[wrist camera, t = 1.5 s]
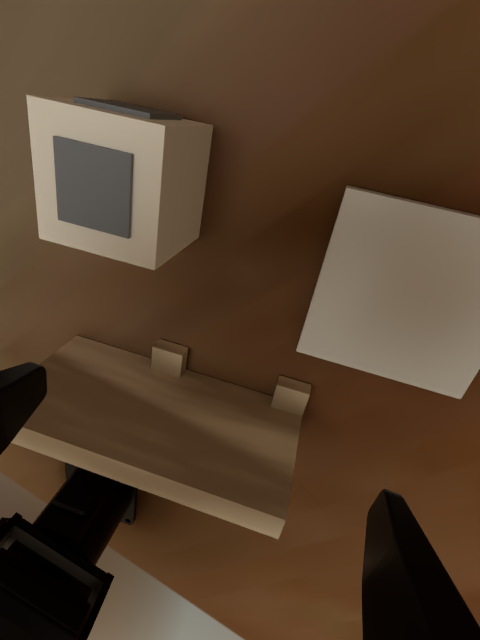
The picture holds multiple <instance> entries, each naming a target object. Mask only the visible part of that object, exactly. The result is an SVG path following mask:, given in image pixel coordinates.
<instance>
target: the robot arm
mask: <svg viewBox="0 0 480 640" xmlns="http://www.w3.org/2000/svg"><path fill="white" fill-rule="evenodd" d="M46 394H47V374H46V369H45V367H43V366H41V365H38V364H35V363H32V362H29V363H25V364H21V365H18V366H15V367H11V368H8V369H5V370H2V371H0V455H1V453H2V452H3V451H4V450H5V449H6V448H7V447H8V445H9V444H10V443H11V442H12V441H13V439H14V438H15V437H16V435H17V434H18V433H19V431H20V430H21V429H22V427H23V426H24V425H25V423H26V422H27V421H28V419H29V418H30V417H31V416H32V414H33V413H34V412H35V410H36V409H37V408H38V406H39V405H40V404H41V402H42V401H43V400H44V398H45V396H46ZM65 467H66V479H67V481H66V482H65V483H64V484H63V486H62V487H61V488H60V489H59V491H58V492H57V493H56V494H55V496H54V497H53V498H52V500H51V501H50V502H49V503H48V505H47V506H46V507H45V508H44V510H43V511H42V512H41V514H40V515H39V516H38V517H37V519H36V520H35V521H34V522H33V524H31V523H29V522H28V521H26V520H25V519H23V518H22V516H21V515H20V514H18V513H15V515H14V516H13V517H12V518H1V519H0V640H87V638H88V636H89V634H90V632H91V629H92V627H93V624H94V622H95V620H96V618H97V615H98V613H99V611H100V608H101V606H102V604H103V601H104V599H105V597H106V595H107V592H108V590H109V588H110V585H111V582H112V580H113V578H114V576H113V575H112V574H110V573H106V572H104V571H103V570H101V569H100V568H98V567H97V566H95V565H96V563H97V561H98V560H99V558H100V556H101V555H102V553H103V551H104V549H105V548H106V546H107V544H108V542H109V541H110V539H111V537H112V535H113V534H114V532H115V530H116V528H117V527H118V525H119V523H120V521H121V522H124V523H126V524H129V525H132V524H133V522H134V520H135V516H136V501H137V488H135V487H132V486H130V485H127V484H124V483H121V482H119V481H116V480H113V479H110V478H108V477H105V476H102V475H99V474H96V473H94V472H91V471H88V470H85V469H83V468H80V467H77V466H74V465H72V464H69V463H66V462H65ZM362 622H363V640H480V627H479V625H478V623H477V622H476V620H475V618H474V617H473V615H472V613H471V612H470V610H469V608H468V606H467V605H466V603H465V601H464V600H463V598H462V596H461V595H460V593H459V591H458V590H457V588H456V586H455V585H454V583H453V581H452V579H451V578H450V576H449V574H448V573H447V571H446V569H445V568H444V566H443V564H442V563H441V561H440V559H439V557H438V556H437V554H436V552H435V551H434V549H433V547H432V546H431V544H430V542H429V541H428V539H427V537H426V536H425V534H424V532H423V530H422V529H421V527H420V525H419V524H418V522H417V520H416V519H415V517H414V515H413V514H412V512H411V510H410V508H409V507H408V505H407V503H406V502H405V500H404V498H403V497H402V496H401V495H400V494H398V493H395V492H392V491H389V490H387V489H384V490H382V491H381V492H380V494H379V495H378V497H377V498H376V500H375V501H374V503H373V504H372V506H371V508H370V509H369V512H368V516H367V526H366V538H365V550H364V562H363V574H362Z"/></svg>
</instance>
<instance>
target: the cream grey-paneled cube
mask: <svg viewBox="0 0 480 640" xmlns="http://www.w3.org/2000/svg"><path fill="white" fill-rule="evenodd" d="M27 106H28V118H29V129H30V140H31V151H32V162H33V174H34V185H35V196H36V207H37V218H38V230H39V238H40V239H44V240H47V241H51V242H54V243H58V244H61V245H65V246H69V247H72V248H76V249H79V250H83V251H87V252H90V253H94V254H97V255H101V256H104V257H108V258H112V259H115V260H119V261H122V262H126V263H130V264H133V265H137V266H140V267H144V268H147V269H151V270H156V269H157V268H159V267H160V266H161V265H163V264H164V263H165V262H167V261H168V260H169V259H171V258H172V257H173V256H175V255H176V254H177V253H179V252H180V251H181V250H183V249H184V248H185V247H187V246H188V245H189V244H191V243H192V242H193V241H195V240H196V239H197V238H199V233H200V225H201V218H202V210H203V202H204V194H205V186H206V179H207V171H208V163H209V155H210V147H211V140H212V132H213V125H210V124H205V123H201V122H196V121H192V120H187V119H182V115H180V114H175V113H170V112H166V111H161V110H157V109H152V108H147V107H143V106H138V105H134V104H129V103H124V102H120V101H112V100H102V99H92V98H82V97H74V99H67V98H56V97H45V96H34V95H27Z"/></svg>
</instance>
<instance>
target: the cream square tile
mask: <svg viewBox="0 0 480 640" xmlns="http://www.w3.org/2000/svg"><path fill="white" fill-rule="evenodd" d="M296 351H297V352H300V353H304V354H307V355H310V356H314V357H317V358H321V359H324V360H327V361H331V362H334V363H338V364H341V365H345V366H348V367H351V368H355V369H358V370H362V371H365V372H369V373H372V374H375V375H379V376H382V377H386V378H389V379H392V380H396V381H399V382H403V383H406V384H410V385H413V386H416V387H420V388H423V389H427V390H430V391H433V392H437V393H440V394H444V395H447V396H451V397H454V398H457V399H461V398H462V396H463V395H464V393H465V392H466V390H467V388H468V387H469V385H470V384H471V382H472V380H473V379H474V377H475V375H476V374H477V372H478V371H479V369H480V215H475V214H471V213H467V212H462V211H458V210H453V209H449V208H445V207H440V206H436V205H432V204H427V203H423V202H419V201H414V200H410V199H405V198H401V197H397V196H392V195H388V194H384V193H379V192H375V191H370V190H366V189H362V188H357V187H353V186H349V185H346V189H345V192H344V195H343V198H342V202H341V205H340V208H339V211H338V215H337V218H336V221H335V224H334V228H333V231H332V234H331V237H330V241H329V244H328V247H327V250H326V254H325V257H324V260H323V263H322V267H321V270H320V273H319V277H318V280H317V283H316V286H315V290H314V293H313V296H312V299H311V303H310V306H309V309H308V312H307V316H306V319H305V322H304V325H303V329H302V332H301V335H300V338H299V342H298V345H297V349H296Z"/></svg>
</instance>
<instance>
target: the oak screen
mask: <svg viewBox="0 0 480 640" xmlns="http://www.w3.org/2000/svg"><path fill="white" fill-rule="evenodd" d="M187 355H188V347H185V346H182V345H178V344H175V343H172V342H168V341H165V340H162V339H159V340H158V341H157V342H156V343H155V344H154V346H153V347H152V359H151V358H148V357H145V356H142V355H138V354H135V353H132V352H129V351H126V350H122V349H119V348H116V347H113V346H110V345H106V344H103V343H100V342H97V341H93V340H90V339H87V338H84V337H81V336H75V337H74V338H73V339H72V340H70V341H69V342H68V343H67V344H65V345H64V346H63V347H61V348H60V349H59V350H58V351H56V352H55V353H54V354H52V355H51V356H50V357H49V358H47V359H46V360H45V361H43V362H42V363H41V364H40V365H41V366H43V367H45V369H46V374H47V394H46V396H45V398H44V400H43V401H42V402H41V404H40V405H39V406H38V408H37V409H36V410H35V412H34V413H33V414H32V416H31V417H30V418H29V419H28V421H27V422H26V423H25V425H24V426H23V427H22V429H21V430H20V431H19V433H18V434H17V435H16V437H15V438H14V439H13V441H12V442H11V443H14V444H16V445H19V446H22V447H25V448H27V449H30V450H33V451H36V452H38V453H41V454H44V455H47V456H49V457H52V458H55V459H58V460H61V461H63V462H66V463H69V464H72V465H74V466H77V467H80V468H83V469H85V470H88V471H91V472H94V473H96V474H99V475H102V476H105V477H108V478H110V479H113V480H116V481H119V482H121V483H124V484H127V485H130V486H132V487H135V488H138V489H141V490H143V491H146V492H149V493H152V494H154V495H157V496H160V497H163V498H166V499H168V500H171V501H174V502H177V503H179V504H182V505H185V506H188V507H190V508H193V509H196V510H199V511H201V512H204V513H207V514H210V515H213V516H215V517H218V518H221V519H224V520H226V521H229V522H232V523H235V524H237V525H240V526H243V527H246V528H248V529H251V530H254V531H257V532H259V533H262V534H265V535H268V536H271V537H273V538H276V539H279V536H280V534H281V531H282V529H283V526H284V524H285V521H286V516H287V510H288V503H289V497H290V491H291V484H292V478H293V472H294V465H295V459H296V453H297V446H298V440H299V434H300V427H301V421H302V416H303V413H304V410H305V407H306V404H307V402H308V399H309V396H310V391H311V384H307V383H304V382H301V381H297V380H294V379H291V378H287V377H284V376H281V375H279V379H278V382H277V386H276V389H275V392H274V396H270V395H267V394H264V393H261V392H257V391H254V390H251V389H248V388H245V387H241V386H238V385H235V384H232V383H228V382H225V381H222V380H219V379H216V378H212V377H209V376H206V375H203V374H200V373H196V372H193V371H190V370H187V369H186V363H187Z"/></svg>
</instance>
